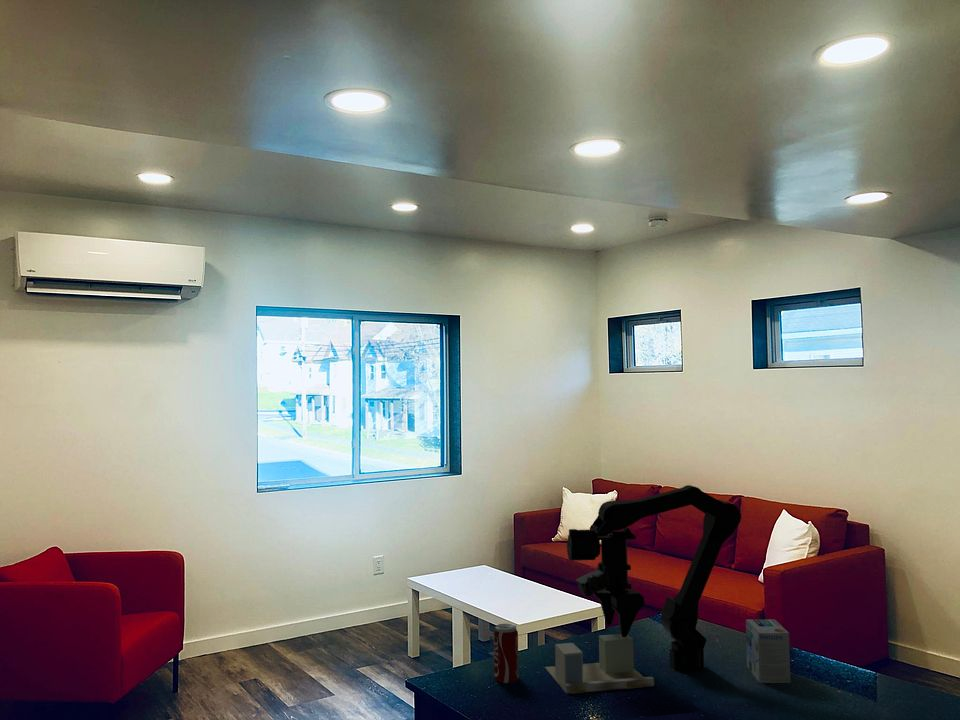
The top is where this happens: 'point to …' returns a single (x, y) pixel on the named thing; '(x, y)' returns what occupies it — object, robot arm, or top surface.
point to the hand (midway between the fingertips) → (616, 630)
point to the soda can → (505, 653)
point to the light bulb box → (768, 651)
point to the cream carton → (568, 663)
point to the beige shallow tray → (603, 680)
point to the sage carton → (616, 653)
